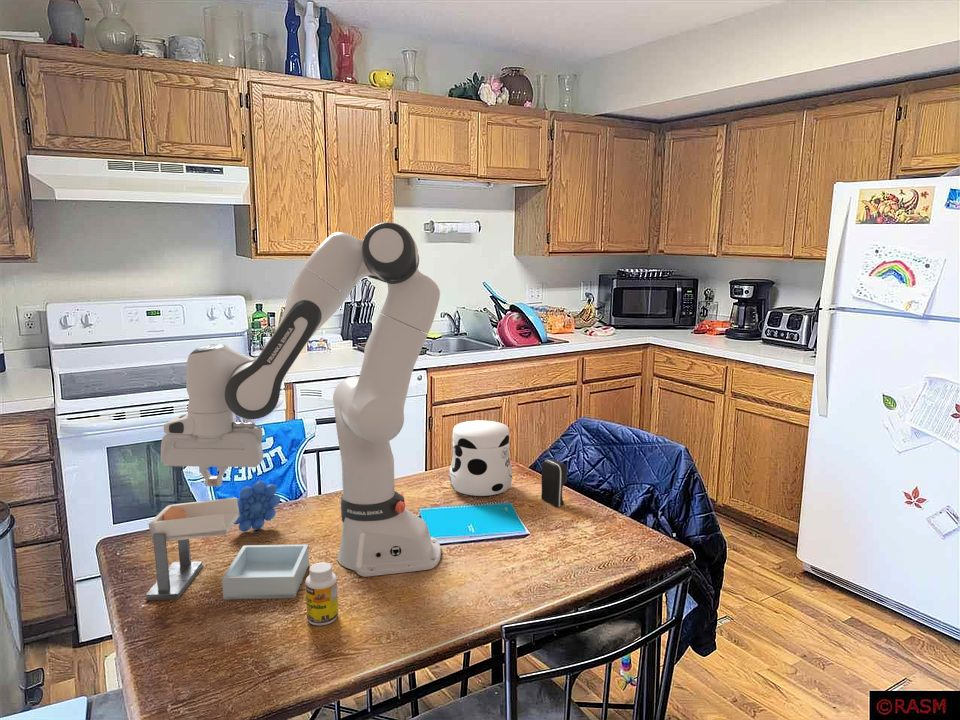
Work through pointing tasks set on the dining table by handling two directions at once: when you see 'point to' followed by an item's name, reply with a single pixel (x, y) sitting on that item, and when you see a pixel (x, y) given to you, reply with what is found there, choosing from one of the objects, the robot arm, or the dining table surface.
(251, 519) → the grapes
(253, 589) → the pale blue tray
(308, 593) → the supplement bottle
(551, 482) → the battery charger
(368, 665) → the dining table surface
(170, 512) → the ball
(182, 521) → the tipping trough
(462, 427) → the spotted cookie jar
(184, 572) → the trough stand
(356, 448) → the robot arm
